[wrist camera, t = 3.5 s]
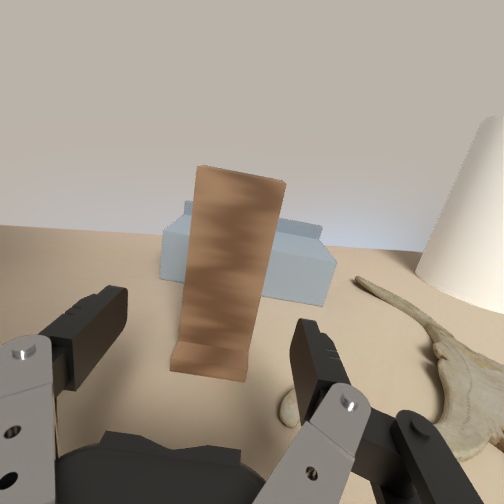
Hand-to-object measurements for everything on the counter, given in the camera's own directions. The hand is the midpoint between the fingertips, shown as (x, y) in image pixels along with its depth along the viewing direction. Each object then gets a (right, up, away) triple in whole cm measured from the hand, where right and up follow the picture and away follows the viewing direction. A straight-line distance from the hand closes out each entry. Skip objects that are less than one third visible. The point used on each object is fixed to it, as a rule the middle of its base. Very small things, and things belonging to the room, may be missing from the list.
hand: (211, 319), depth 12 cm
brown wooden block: (-1, -5, +10) cm, 11 cm away
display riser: (+1, 0, +24) cm, 24 cm away
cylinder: (+42, -4, +36) cm, 56 cm away
